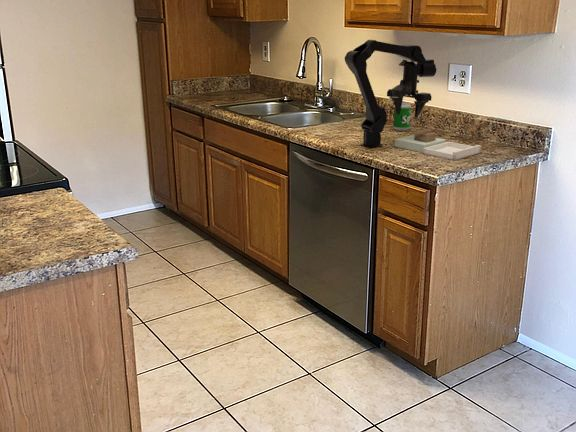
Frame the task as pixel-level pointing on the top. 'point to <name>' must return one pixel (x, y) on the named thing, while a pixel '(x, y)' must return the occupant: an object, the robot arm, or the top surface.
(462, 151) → the tray
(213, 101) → the top surface
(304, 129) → the top surface
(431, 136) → the walnut tile
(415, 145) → the platform
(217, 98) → the top surface
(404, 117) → the soda can
